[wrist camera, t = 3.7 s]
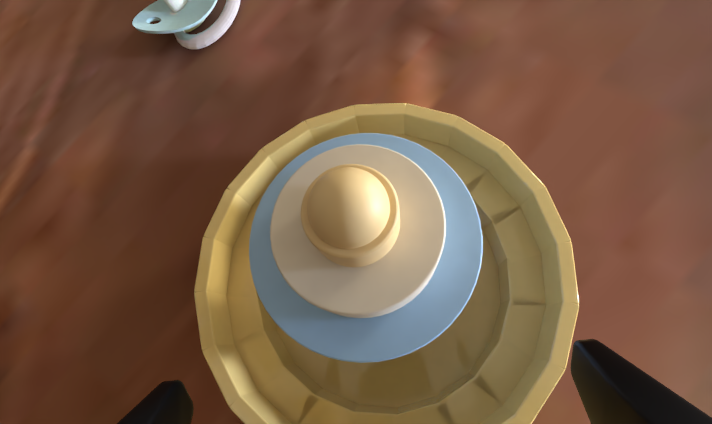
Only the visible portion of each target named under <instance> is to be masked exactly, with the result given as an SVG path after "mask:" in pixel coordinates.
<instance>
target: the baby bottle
mask: <svg viewBox="0 0 712 424" xmlns="http://www.w3.org/2000/svg"><path fill="white" fill-rule="evenodd" d="M482 253H483V236H482V229H481V223H480V219H479V215H478V212H477V208H476V205H475V203H474V201H473V199H472V197H471V194H470V192H469V191H468V189H467V188H466V186H465V184H464V183H463V181H462V180H461V178H460V177H459V176H458V175H457V174H456V172H455V171H454V170H453V169H452V168H451V167H450V166H449V165H448V164H447V163H446V162H445V161H444V160H442V159H441V158H440V157H438V156H437V155H436V154H434V153H433V152H431V151H430V150H428V149H426V148H425V147H423V146H421V145H419V144H417V143H414V142H412V141H409V140H407V139H404V138H400V137H396V136H392V135H386V134H379V133H359V134H349V135H345V136H340V137H336V138H333V139H330V140H327V141H324V142H322V143H320V144H317V145H315V146H313V147H311V148H309V149H308V150H306V151H305V152H303V153H301V154H300V155H298V156H297V157H296V158H295V159H293V160H292V161H291V162H290V163H288V164H287V165H286V166H285V167H284V168H283V169H282V170H281V171H280V172H279V173H278V174H277V176H276V177H275V178H274V180H273V181H272V182H271V184H270V185H269V186H268V188H267V190H266V191H265V193H264V195H263V196H262V198H261V200H260V203H259V205H258V207H257V210H256V212H255V216H254V219H253V222H252V227H251V233H250V239H249V260H250V269H251V274H252V278H253V282H254V285H255V288H256V290H257V293H258V296H259V298H260V300H261V302H262V303H263V305H264V307H265V309H266V311H267V312H268V313H269V315H270V316H271V317H272V319H273V320H274V322H275V323H276V324H277V325H278V326H279V327H280V328H281V329H282V330H283V331H284V332H285V333H286V334H287V335H288V336H290V337H291V338H292V339H294V340H295V341H296V342H297V343H299V344H301V345H302V346H304V347H306V348H308V349H309V350H311V351H313V352H315V353H318V354H321V355H323V356H326V357H328V358H333V359H337V360H341V361H347V362H358V363H366V362H380V361H385V360H390V359H395V358H398V357H401V356H404V355H407V354H410V353H412V352H414V351H416V350H418V349H420V348H422V347H423V346H425V345H427V344H428V343H430V342H431V341H433V340H434V339H435V338H437V337H438V336H439V335H441V334H442V333H443V332H444V331H445V330H446V329H447V328H448V327H449V326H450V325H451V324H452V323H453V322H454V321H455V319H456V318H457V317H458V316H459V314H460V313H461V312H462V310H463V309H464V307H465V305H466V304H467V302H468V300H469V299H470V297H471V295H472V292H473V290H474V288H475V285H476V283H477V279H478V276H479V272H480V268H481V261H482Z"/></svg>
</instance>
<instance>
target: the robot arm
mask: <svg viewBox="0 0 712 424" xmlns="http://www.w3.org/2000/svg"><path fill="white" fill-rule="evenodd" d="M571 374H572V377H573V380H574V382H575V385H576V387H577V390H578V392H579V395H580V397H581V400H582V402H583V405H584V407H585V410H586V412H587V414H588V417H589V419H590V422H591V424H712V418H711V417H710V416H708V415H707V414H705V413H704V412H702V411H701V410H699V409H698V408H696V407H695V406H693V405H692V404H691V403H689V402H688V401H686V400H685V399H683V398H682V397H680V396H679V395H677V394H676V393H674V392H673V391H671V390H670V389H668V388H667V387H665V386H664V385H663V384H661V383H660V382H658V381H657V380H655V379H654V378H652V377H651V376H649V375H648V374H646V373H645V372H643V371H642V370H640V369H639V368H637V367H636V366H635V365H633V364H632V363H630V362H629V361H627V360H626V359H624V358H623V357H621V356H620V355H618V354H617V353H615V352H614V351H612V350H611V349H609V348H608V347H607V346H605V345H604V344H602V343H601V342H599V341H597V340H595V339H587V340H578V341H576V342H575V343H574V345H573V352H572V360H571ZM192 416H193V402H192V400H191V398H190V396H189V394H188V392H187V390H186V388H185V386H184V384H183V383H182V382H181V381H180V380H174V381H165V382H162V383H161V384H159V385H158V386H157V387H156V388H155V389H154V390H153V391H152V392H151V393H150V394H149V395H147V396H146V397H145V398H144V399H143V400H142V401H141V402H140V403H139V404H138V405H137V406H136V407H134V408H133V409H132V410H131V411H130V412H129V413H128V414H127V415H126V416H125V417H124V418H123V419H121V420H120V421H119V422H118V423H117V424H191V420H192Z"/></svg>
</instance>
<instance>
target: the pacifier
mask: <svg viewBox="0 0 712 424" xmlns="http://www.w3.org/2000/svg"><path fill="white" fill-rule="evenodd" d="M216 2H217V0H158V1H156V2H154V3H153V4H151V5H149V6H148V7H146V8H145V9H143V10H142V11H141V12H140V13H139V14H138V15H137V16H136V17H135V18H134V19H133V22H132V24H133V26H134V27H135V28H136V29H137V30H138V31H141V32H145V33H153V34H167V33H174V34H175V37H176V39H177V41H178V42H179V43H180V44H181V45H182V46H183V47H185V48H188V49H201V48H204V47H207V46H209V45H210V44H212V43H214V42H215V41H217V40H218V39H219V38H220V37H221V36H222V35H223V34H224V33H225V32H226V31H227V29H228V28H229V27H230V26H231V24H232V22H233V20H234V19H235V17H236V15H237V12H238V9H239V6H240V0H226V4H225V7H224V9H223V11H222V13H221V15H220V16H219V18H218V19H217V20H216V21H215V22H214V23H213V24H212V25H211V26H210V27H209V28H208V29H206V30H205V31H203V32H201V33H198V34H194V35H189V34H187V32H190V31H192V30H194V29H196V28H197V27H199V26H200V25H201V24H202V23H203V21H204V20H205V18H206V17H207V16H208V15H209V14H210V13H211V11H212V10H213V8H214V7H215V5H216ZM157 20H159V21H160V22H159V23H157V24H150V23H151V22H153V21H157Z"/></svg>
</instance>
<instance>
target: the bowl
mask: <svg viewBox="0 0 712 424" xmlns="http://www.w3.org/2000/svg"><path fill="white" fill-rule="evenodd" d="M359 133H379V134H386V135H392V136H396V137H400V138H404V139H407V140H409V141H412V142H414V143H417V144H419V145H421V146H423V147H425V148H426V149H428V150H430V151H431V152H433V153H434V154H436V155H437V156H438V157H440V158H441V159H442V160H444V161H445V162H446V163H447V164H448V165H449V166H450V167H451V168H452V169H453V170H454V171H455V172H456V174H457V175H458V176H459V177H460V178H461V180H462V181H463V183H464V184H465V186H466V188H467V189H468V191H469V192H470V194H471V197H472V199H473V201H474V203H475V205H476V208H477V212H478V215H479V219H480V223H481V229H482V236H483V253H482V261H481V268H480V272H479V276H478V279H477V283H476V285H475V288H474V290H473V292H472V295H471V297H470V299H469V300H468V302H467V304H466V305H465V307H464V309H463V310H462V312H461V313H460V314H459V316H458V317H457V318H456V319H455V321H454V322H453V323H452V324H451V325H450V326H449V327H448V328H447V329H446V330H445V331H444V332H443V333H442V334H441V335H439V336H438V337H437V338H435V339H434V340H433V341H431V342H430V343H428V344H427V345H425V346H423V347H422V348H420V349H418V350H416V351H414V352H412V353H410V354H407V355H404V356H401V357H398V358H395V359H390V360H385V361H380V362H366V363H358V362H347V361H341V360H337V359H333V358H328V357H326V356H323V355H321V354H318V353H315V352H313V351H311V350H309V349H308V348H306V347H304V346H302V345H301V344H299V343H297V342H296V341H295V340H294V339H292V338H291V337H290V336H288V335H287V334H286V333H285V332H284V331H283V330H282V329H281V328H280V327H279V326H278V325H277V324H276V323H275V322H274V320H273V319H272V317H271V316H270V315H269V313H268V312H267V311H266V309H265V307H264V305H263V303H262V302H261V300H260V298H259V296H258V293H257V290H256V288H255V285H254V282H253V278H252V274H251V269H250V260H249V239H250V233H251V227H252V222H253V219H254V216H255V212H256V210H257V207H258V205H259V203H260V200H261V198H262V196H263V195H264V193H265V191H266V190H267V188H268V186H269V185H270V184H271V182H272V181H273V180H274V178H275V177H276V176H277V174H278V173H279V172H280V171H281V170H282V169H283V168H284V167H285V166H286V165H287V164H288V163H290V162H291V161H292V160H293V159H295V158H296V157H297V156H298V155H300V154H301V153H303V152H305V151H306V150H308V149H309V148H311V147H313V146H315V145H317V144H320V143H322V142H324V141H327V140H330V139H333V138H336V137H340V136H345V135H349V134H359ZM203 237H204V238H203V239H202V245H201V251H200V258H199V264H198V270H197V276H196V282H195V289H194V292H195V293H194V298H195V305H196V312H197V319H198V327H199V334H200V341H201V348H202V351H203V355H204V357H205V359H206V361H207V363H208V365H209V367H210V369H211V371H212V373H213V375H214V377H215V380H216V382H217V384H218V386H219V388H220V390H221V392H222V394H223V396H224V398H225V400H226V402H227V404H228V406H229V407H230V409H231V410H232V411H233V412H234V413H235V414H236V415H237V416H238V417H239V418H240V419H241V420H242V421H243V422H244V423H245V424H532V422H533V421H534V419H535V418H536V416H537V414H538V413H539V411H540V410H541V408H542V407H543V405H544V403H545V402H546V400H547V399H548V397H549V395H550V394H551V392H552V391H553V389H554V388H555V386H556V384H557V383H558V381H559V380H560V378H561V376H562V375H563V373H564V372H565V370H564V369H566V366H567V361H568V356H569V352H570V347H571V342H572V338H573V333H574V329H575V324H576V319H577V315H578V310H579V305H578V304H579V297H578V289H577V281H576V273H575V265H574V257H573V249H572V243H571V239H570V237H569V235H568V232H567V230H566V228H565V226H564V224H563V222H562V220H561V218H560V216H559V214H558V211H557V209H556V207H555V205H554V203H553V201H552V199H551V197H550V195H549V193H548V190H547V188H546V187H545V186H544V184H543V183H542V182H541V181H540V180H539V179H538V178H537V177H536V176H535V175H534V174H533V172H532V171H531V170H530V169H529V168H528V167H527V166H526V165H525V164H524V163H523V162H522V161H521V160H520V159H519V157H518V156H517V155H516V154H515V153H514V152H513V151H512V150H511V149H510V148H509V147H508V146H507V145H505V143H503V142H502V141H500V140H498V139H497V138H495V137H493V136H491V135H490V134H488V133H486V132H485V131H483V130H481V129H479V128H478V127H476V126H474V125H473V124H471V123H469V122H467V121H466V120H464V119H462V118H461V117H457V116H456V115H452V114H448V113H444V112H440V111H436V110H432V109H428V108H424V107H420V106H416V105H412V104H408V103H391V104H360V105H352V106H348V107H345V108H342V109H339V110H336V111H332V112H329V113H326V114H323V115H320V116H317V117H313V118H310V119H307V120H305V121H303V122H301V123H300V124H298V125H297V126H295V127H293V128H292V129H290V130H289V131H287V132H286V133H284V134H283V135H281V136H280V137H278V138H277V139H275V140H273V141H272V142H270V143H269V144H267V145H266V146H264V147H263V148H262V149H260V150H259V151H258V153H257V154H256V155H255V156H254V157H253V158H252V159H251V161H250V162H249V163H248V164H247V165H246V166H245V167H244V168H243V170H242V171H241V172H240V173H239V174H238V175H237V176H236V178H235V179H234V180H233V181H232V182H231V183H230V184H229V185H228V187H227V189H226V190H225V192H224V194H223V196H222V198H221V200H220V202H219V204H218V206H217V208H216V210H215V213H214V215H213V217H212V219H211V221H210V223H209V225H208V227H207V229H206V231H205V234H204V236H203Z"/></svg>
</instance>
